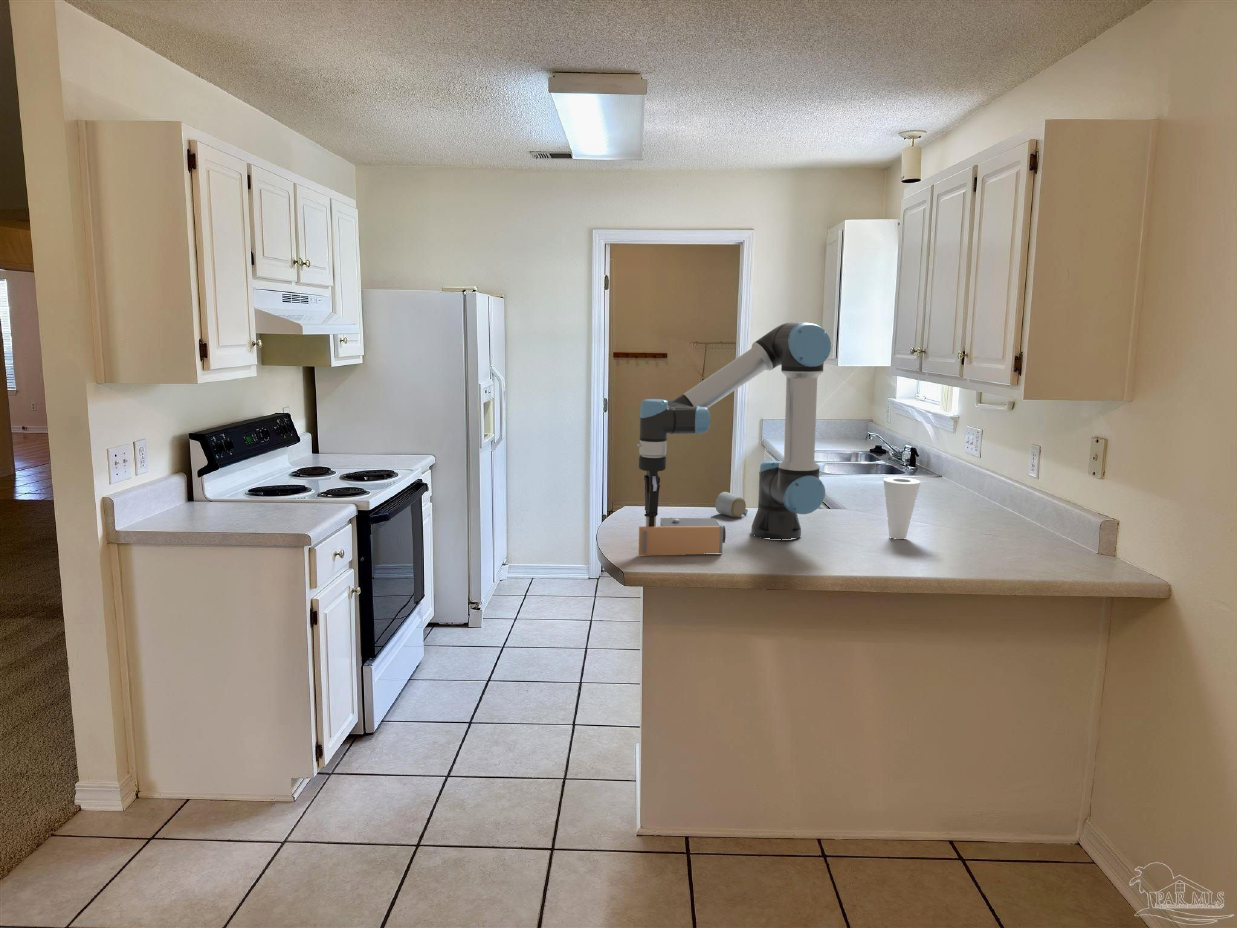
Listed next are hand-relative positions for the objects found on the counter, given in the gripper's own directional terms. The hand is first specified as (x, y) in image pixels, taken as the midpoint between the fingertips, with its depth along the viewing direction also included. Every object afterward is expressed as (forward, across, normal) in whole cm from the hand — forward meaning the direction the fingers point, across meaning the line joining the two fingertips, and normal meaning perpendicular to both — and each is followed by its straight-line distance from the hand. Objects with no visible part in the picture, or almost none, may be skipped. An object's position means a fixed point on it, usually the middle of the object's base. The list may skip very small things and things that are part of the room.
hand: (650, 538), depth 235 cm
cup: (+5, -13, +79) cm, 80 cm away
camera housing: (+5, -4, +12) cm, 13 cm away
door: (+4, +3, +8) cm, 10 cm away
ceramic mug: (+5, -45, +35) cm, 57 cm away
